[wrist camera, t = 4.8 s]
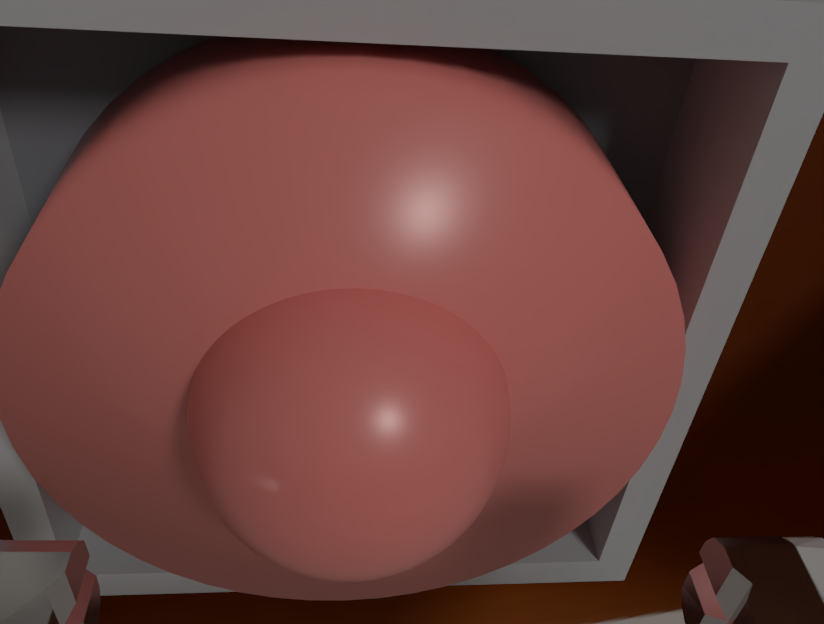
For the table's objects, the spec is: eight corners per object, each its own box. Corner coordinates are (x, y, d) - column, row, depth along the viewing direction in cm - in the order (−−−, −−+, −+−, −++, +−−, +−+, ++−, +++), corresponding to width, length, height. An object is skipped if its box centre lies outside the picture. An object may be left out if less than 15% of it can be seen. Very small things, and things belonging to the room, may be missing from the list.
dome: (705, 32, 12) (908, 221, 8) (567, 482, 19) (636, 716, 15) (-29, -6, 11) (-257, 193, 7) (102, 488, 18) (29, 746, 14)
